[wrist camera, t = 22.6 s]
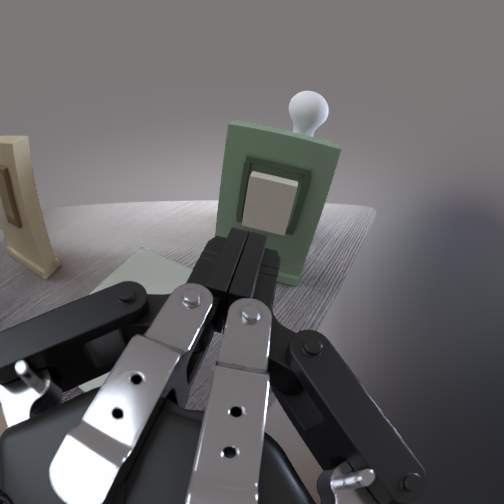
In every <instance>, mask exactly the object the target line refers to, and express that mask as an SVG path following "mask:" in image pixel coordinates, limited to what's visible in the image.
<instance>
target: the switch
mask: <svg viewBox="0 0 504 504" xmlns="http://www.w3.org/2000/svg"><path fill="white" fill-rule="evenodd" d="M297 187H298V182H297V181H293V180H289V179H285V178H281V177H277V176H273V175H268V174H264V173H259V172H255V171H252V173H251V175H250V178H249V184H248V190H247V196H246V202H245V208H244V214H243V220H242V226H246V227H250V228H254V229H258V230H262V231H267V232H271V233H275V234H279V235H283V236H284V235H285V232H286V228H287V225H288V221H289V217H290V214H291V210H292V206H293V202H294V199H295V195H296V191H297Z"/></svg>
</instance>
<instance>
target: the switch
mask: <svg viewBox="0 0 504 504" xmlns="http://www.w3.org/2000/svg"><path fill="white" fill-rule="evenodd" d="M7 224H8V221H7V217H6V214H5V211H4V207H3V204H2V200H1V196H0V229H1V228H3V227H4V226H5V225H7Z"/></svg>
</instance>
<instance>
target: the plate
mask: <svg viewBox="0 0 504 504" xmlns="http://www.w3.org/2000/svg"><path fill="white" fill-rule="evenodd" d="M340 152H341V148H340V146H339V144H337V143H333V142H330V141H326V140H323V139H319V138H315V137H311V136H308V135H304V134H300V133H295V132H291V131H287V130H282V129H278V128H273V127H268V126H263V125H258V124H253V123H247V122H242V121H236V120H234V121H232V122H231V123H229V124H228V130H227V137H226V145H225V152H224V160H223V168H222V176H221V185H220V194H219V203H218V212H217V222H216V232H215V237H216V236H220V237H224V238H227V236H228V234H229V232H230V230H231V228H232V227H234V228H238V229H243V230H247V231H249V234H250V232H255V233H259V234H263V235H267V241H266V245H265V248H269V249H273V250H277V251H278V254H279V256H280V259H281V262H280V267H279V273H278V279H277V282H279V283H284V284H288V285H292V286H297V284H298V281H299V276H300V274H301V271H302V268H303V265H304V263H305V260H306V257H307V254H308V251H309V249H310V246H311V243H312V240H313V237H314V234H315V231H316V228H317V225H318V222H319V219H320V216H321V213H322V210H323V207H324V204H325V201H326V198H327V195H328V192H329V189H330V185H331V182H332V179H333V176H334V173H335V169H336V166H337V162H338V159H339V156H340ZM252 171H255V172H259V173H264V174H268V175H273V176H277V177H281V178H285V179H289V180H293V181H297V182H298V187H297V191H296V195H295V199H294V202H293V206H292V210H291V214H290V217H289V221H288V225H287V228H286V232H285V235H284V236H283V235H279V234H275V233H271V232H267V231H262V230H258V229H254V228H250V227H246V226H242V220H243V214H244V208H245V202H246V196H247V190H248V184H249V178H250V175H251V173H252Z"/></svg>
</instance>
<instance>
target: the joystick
mask: <svg viewBox="0 0 504 504" xmlns="http://www.w3.org/2000/svg"><path fill="white" fill-rule="evenodd" d="M328 112H329V110H328V105H327V102H326V101H325V99H324V98H323V97H322V96H321V95H320V94H318V93H316V92H313V91H303V92H300V93H298V94H296V95H295V96H294V97H293V98H292V99H291V101H290V104H289V113H290V116H291V118H292V120H293V124H294V130H293V132H295V133H300V134H304V135H308V136H311V137H313V134H314V132H315V130H316V129H317V128H318V127H319V126H320V125H321V124H323V123H324V122H325V120H326V118H327V117H328Z"/></svg>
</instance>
